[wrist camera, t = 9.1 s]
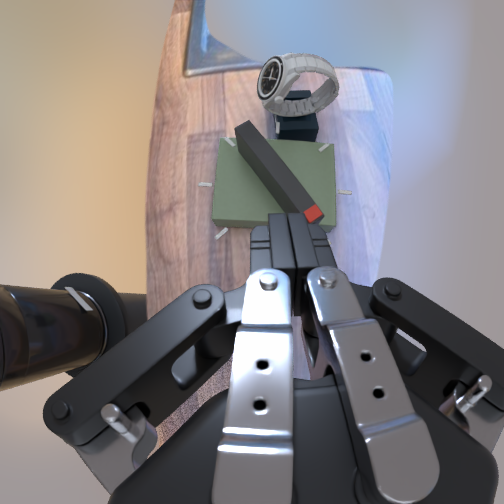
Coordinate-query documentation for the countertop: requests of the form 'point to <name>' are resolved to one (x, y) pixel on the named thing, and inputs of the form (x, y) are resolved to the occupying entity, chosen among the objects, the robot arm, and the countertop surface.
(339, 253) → the countertop surface
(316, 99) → the watch
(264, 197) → the dial panel
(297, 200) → the pointer
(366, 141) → the countertop surface
